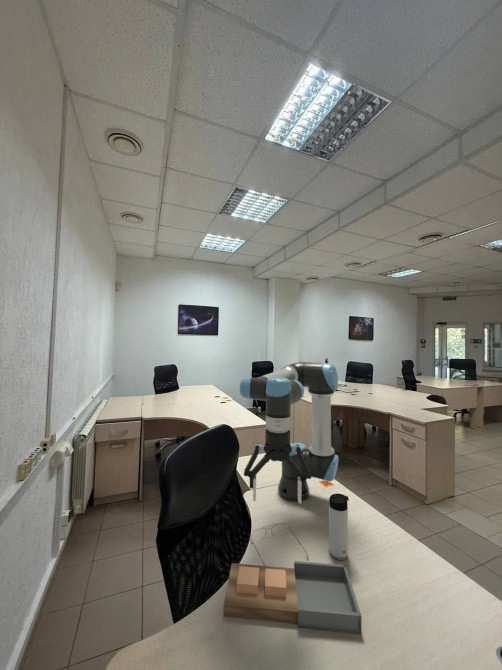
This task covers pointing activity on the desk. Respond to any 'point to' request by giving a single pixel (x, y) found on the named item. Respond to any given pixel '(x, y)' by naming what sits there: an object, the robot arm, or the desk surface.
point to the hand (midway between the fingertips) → (276, 499)
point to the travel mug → (338, 526)
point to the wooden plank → (261, 598)
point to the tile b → (275, 582)
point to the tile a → (248, 580)
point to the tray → (326, 598)
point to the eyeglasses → (274, 535)
